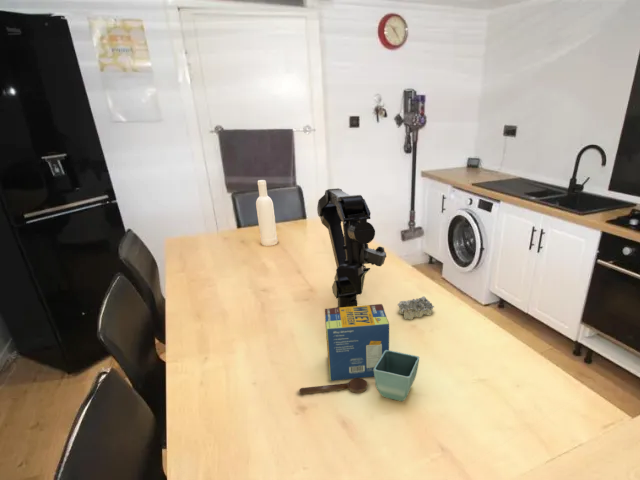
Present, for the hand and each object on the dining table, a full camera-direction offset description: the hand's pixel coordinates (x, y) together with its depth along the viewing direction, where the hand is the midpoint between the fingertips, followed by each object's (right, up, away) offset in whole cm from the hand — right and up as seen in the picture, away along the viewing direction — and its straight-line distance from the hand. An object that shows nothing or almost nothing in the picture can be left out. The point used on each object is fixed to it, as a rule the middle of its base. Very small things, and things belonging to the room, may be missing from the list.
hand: (360, 294), depth 119 cm
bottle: (-49, +23, +79) cm, 96 cm away
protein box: (0, -19, -11) cm, 22 cm away
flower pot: (+10, -24, -20) cm, 33 cm away
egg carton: (+17, -7, +16) cm, 25 cm away
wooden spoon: (-4, -23, -19) cm, 30 cm away
